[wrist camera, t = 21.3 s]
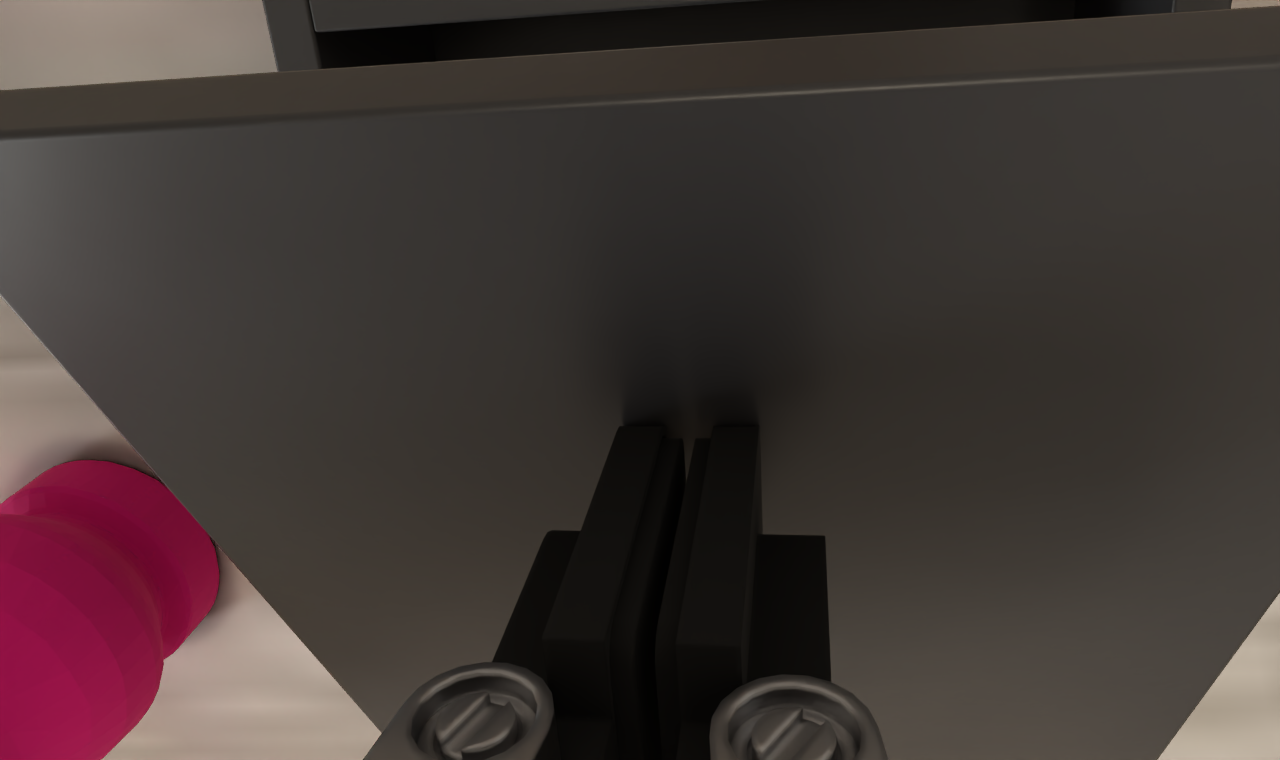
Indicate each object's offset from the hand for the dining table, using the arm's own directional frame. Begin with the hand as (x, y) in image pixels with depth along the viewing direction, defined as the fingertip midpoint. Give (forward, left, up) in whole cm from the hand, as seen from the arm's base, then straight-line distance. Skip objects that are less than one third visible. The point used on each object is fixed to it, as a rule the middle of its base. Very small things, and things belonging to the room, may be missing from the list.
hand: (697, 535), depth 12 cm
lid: (+1, -1, -2) cm, 3 cm away
